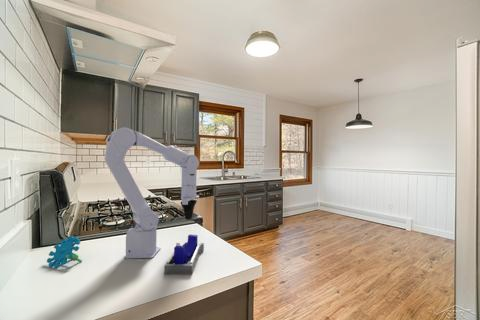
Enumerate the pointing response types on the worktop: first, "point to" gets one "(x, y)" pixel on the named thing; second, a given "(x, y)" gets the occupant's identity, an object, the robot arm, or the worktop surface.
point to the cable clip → (185, 250)
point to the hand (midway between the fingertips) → (188, 219)
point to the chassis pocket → (183, 268)
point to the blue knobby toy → (64, 252)
